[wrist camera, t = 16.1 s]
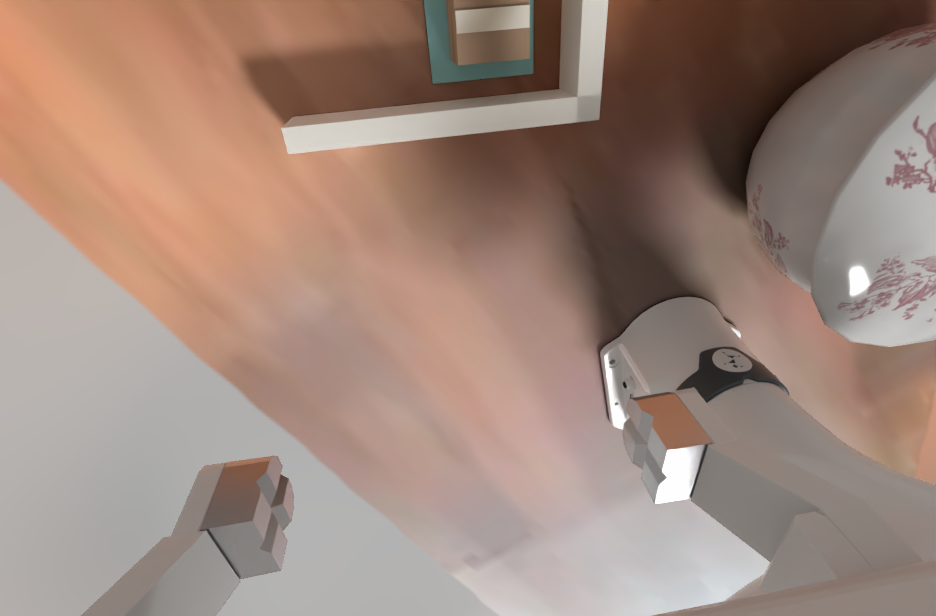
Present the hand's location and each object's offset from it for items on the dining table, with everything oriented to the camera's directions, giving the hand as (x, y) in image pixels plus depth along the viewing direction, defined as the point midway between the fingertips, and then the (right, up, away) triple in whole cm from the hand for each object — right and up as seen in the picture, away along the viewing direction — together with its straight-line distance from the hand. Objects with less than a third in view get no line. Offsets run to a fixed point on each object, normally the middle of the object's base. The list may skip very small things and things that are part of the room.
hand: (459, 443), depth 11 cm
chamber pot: (+38, +20, +38) cm, 57 cm away
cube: (+1, +27, +27) cm, 38 cm away
